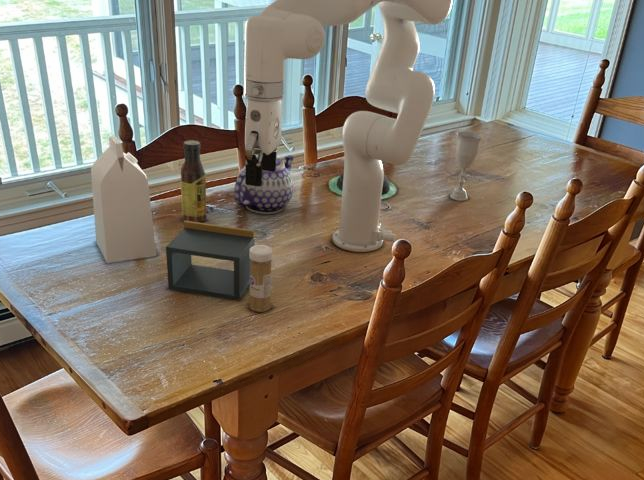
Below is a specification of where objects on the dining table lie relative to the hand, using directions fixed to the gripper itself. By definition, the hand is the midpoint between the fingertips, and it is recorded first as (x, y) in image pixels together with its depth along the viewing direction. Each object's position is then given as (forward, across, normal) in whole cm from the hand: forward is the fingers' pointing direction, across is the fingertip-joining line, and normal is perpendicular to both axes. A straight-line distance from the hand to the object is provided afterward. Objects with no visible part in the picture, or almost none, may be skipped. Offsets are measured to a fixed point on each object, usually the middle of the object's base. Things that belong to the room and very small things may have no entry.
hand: (260, 177), depth 145 cm
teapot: (+24, +44, +12) cm, 52 cm away
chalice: (+23, +72, -38) cm, 84 cm away
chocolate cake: (+23, +69, -10) cm, 74 cm away
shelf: (+25, -2, +10) cm, 27 cm away
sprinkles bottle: (+25, -8, -3) cm, 27 cm away
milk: (+25, +8, +35) cm, 44 cm away
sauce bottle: (+24, +30, +27) cm, 47 cm away
